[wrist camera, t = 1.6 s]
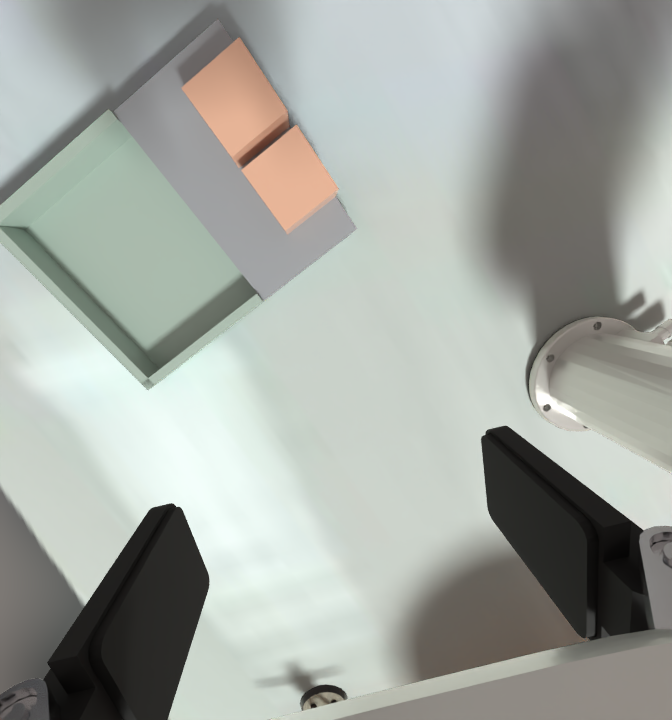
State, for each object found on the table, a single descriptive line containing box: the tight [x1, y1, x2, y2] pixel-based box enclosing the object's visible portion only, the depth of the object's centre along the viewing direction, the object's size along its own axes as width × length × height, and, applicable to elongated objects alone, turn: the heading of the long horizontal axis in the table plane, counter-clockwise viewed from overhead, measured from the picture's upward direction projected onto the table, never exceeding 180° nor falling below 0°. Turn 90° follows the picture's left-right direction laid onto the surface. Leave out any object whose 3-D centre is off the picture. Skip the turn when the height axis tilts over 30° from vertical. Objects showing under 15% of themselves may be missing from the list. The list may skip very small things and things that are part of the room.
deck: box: [113, 19, 357, 301], centre depth 27 cm, size 10×17×2 cm, turn 36°
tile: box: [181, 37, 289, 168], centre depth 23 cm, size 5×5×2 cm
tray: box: [0, 109, 265, 390], centre depth 27 cm, size 13×17×3 cm
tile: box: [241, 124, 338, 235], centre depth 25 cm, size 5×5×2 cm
